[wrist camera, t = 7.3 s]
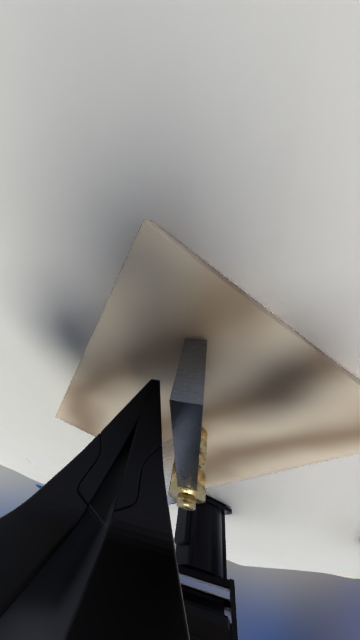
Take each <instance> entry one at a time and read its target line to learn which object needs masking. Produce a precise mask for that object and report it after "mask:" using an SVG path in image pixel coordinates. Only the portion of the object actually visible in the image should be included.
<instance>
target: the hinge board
mask: <svg viewBox="0 0 360 640" xmlns="http://www.w3.org/2000/svg"><path fill="white" fill-rule="evenodd" d="M185 338H190V339H202V340H207V354H206V369H205V385H204V401H203V415H202V427H203V428H204V429H206V431H207V433H208V437H207V455H206V456H205V472H204V473H205V474H206V488H210V487H215V486H219V485H223V484H228V483H232V482H237V481H241V480H245V479H250V478H254V477H258V476H263V475H267V474H271V473H276V472H280V471H285V470H289V469H293V468H298V467H302V466H306V465H311V464H315V463H319V462H324V461H328V460H333V459H337V458H341V457H346V456H350V455H354V454H359V453H360V381H359V380H358V379H356V378H355V377H354V376H352V375H351V374H350V373H349V372H347V371H346V370H345V369H343V368H342V367H341V366H339V365H338V364H337V363H336V362H334V361H333V360H332V359H330V358H329V357H328V356H326V355H325V354H324V353H323V352H321V351H320V350H319V349H317V348H316V347H315V346H313V345H312V344H311V343H310V342H308V341H307V340H306V339H304V338H303V337H302V336H300V335H299V334H298V333H297V332H295V331H294V330H293V329H291V328H290V327H289V326H287V325H286V324H285V323H284V322H282V321H281V320H280V319H278V318H277V317H276V316H274V315H273V314H272V313H271V312H269V311H268V310H267V309H265V308H264V307H263V306H261V305H260V304H259V303H258V302H256V301H255V300H254V299H252V298H251V297H250V296H249V295H247V294H246V293H245V292H243V291H242V290H241V289H239V288H238V287H237V286H236V285H234V284H233V283H232V282H230V281H229V280H228V279H226V278H225V277H224V276H223V275H221V274H220V273H219V272H217V271H216V270H215V269H213V268H212V267H211V266H210V265H208V264H207V263H206V262H204V261H203V260H202V259H200V258H199V257H198V256H197V255H195V254H194V253H193V252H191V251H190V250H189V249H187V248H186V247H185V246H184V245H182V244H181V243H180V242H178V241H177V240H176V239H174V238H173V237H172V236H171V235H169V234H168V233H167V232H165V231H164V230H163V229H161V228H160V227H159V226H158V225H156V224H155V223H154V222H152V221H143V223H142V225H141V227H140V229H139V232H138V234H137V236H136V238H135V240H134V243H133V245H132V247H131V249H130V252H129V254H128V256H127V258H126V261H125V263H124V265H123V267H122V269H121V272H120V274H119V276H118V278H117V281H116V283H115V285H114V287H113V289H112V292H111V294H110V296H109V298H108V301H107V303H106V305H105V307H104V310H103V312H102V314H101V316H100V318H99V321H98V323H97V325H96V327H95V330H94V332H93V334H92V336H91V338H90V341H89V343H88V345H87V347H86V350H85V352H84V354H83V356H82V359H81V361H80V363H79V365H78V367H77V370H76V372H75V374H74V376H73V379H72V381H71V383H70V385H69V387H68V390H67V392H66V394H65V396H64V399H63V401H62V403H61V405H60V408H59V410H58V412H57V414H56V416H55V417H56V418H58V419H60V420H63V421H65V422H67V423H69V424H71V425H73V426H75V427H77V428H79V429H81V430H83V431H85V432H87V433H89V434H91V435H93V436H95V437H96V436H97V435H98V434H99V433H100V434H101V431H102V430H103V429H104V428H105V427H106V426H107V425H108V424H109V423H110V422H111V421H112V420H113V419H114V417H115V416H116V415H117V414H118V413H119V412H120V411H121V410H122V409H123V408H124V407H125V406H126V405H127V404H128V403H129V402H130V401H131V400H132V399H133V398H134V396H135V395H136V394H137V393H138V392H139V391H140V390H141V389H142V388H143V387H144V386H145V385H146V384H147V383H148V382H149V381H150V380H151V379H155V380H160V394H161V423H162V443H163V442H165V441H167V440H169V439H170V438H172V437H173V434H172V423H171V413H170V402H169V399H170V395H171V391H172V387H173V383H174V379H175V376H176V372H177V368H178V364H179V360H180V356H181V352H182V348H183V344H184V340H185Z"/></svg>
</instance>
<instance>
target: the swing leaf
mask: <svg viewBox="0 0 360 640" xmlns="http://www.w3.org/2000/svg"><path fill="white" fill-rule="evenodd" d="M206 354H207V340H202V339H190V338H185V340H184V344H183V348H182V352H181V356H180V360H179V364H178V368H177V372H176V376H175V379H174V383H173V387H172V391H171V395H170V399H169V402H170V413H171V423H172V434H173V444H174V455H175V466H176V476H177V486H179V487H183V488H187V489H191V490H195V491H197V481H198V469H199V470H201V471H202V472H205V455H204V454H203V453H202V452H200V441H201V428H202V415H203V401H204V385H205V369H206Z"/></svg>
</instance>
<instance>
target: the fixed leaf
mask: <svg viewBox="0 0 360 640" xmlns="http://www.w3.org/2000/svg"><path fill="white" fill-rule="evenodd" d="M207 437H208V433H207V431H206V429H204V428H203V427H202V428H201V441H200V452H202V453H203V454H204V455H205V456H206V455H207ZM162 450H163V468H164V477H165V486H166V493H167V500H168V505H169V504H175V503H177V506H178V507H179V508H181V509H184V510H188V511H195V508H196V503H204V502H205V497H206V474H205V473H204V472H202V471H201V470H199V469H198V481H197V491H195V490H191V489H187V488H183V487H179V486H177V476H176V466H175V455H174V444H173V437H172V438H170V439H169V440H167V441H165V442H163V443H162Z"/></svg>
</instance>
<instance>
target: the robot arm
mask: <svg viewBox="0 0 360 640" xmlns="http://www.w3.org/2000/svg"><path fill="white" fill-rule="evenodd" d="M227 514H232V510H231V509H230V508H228V507H226V506H224V505H222V504H220V503H218V502H216V501H214V500H212V499H209V498H207V497H205V502H204V503H196V508H195V511H188V510H184V509H181V508H178V516H177V524H176V532H175V543H176V553H175V548H174V540H173V534H172V527H171V520H170V513H169V506H168V500H167V493H166V486H165V477H164V468H163V450H162V423H161V394H160V380H155V379H151V380H150V381H149V382H148V383H147V384H146V385H145V386H144V387H143V388H142V389H141V390H140V391H139V392H138V393H137V394H136V395H135V396H134V398H133V399H132V400H131V401H130V402H129V403H128V404H127V405H126V406H125V407H124V408H123V409H122V410H121V411H120V412H119V413H118V414H117V415H116V416H115V417H114V419H113V420H112V421H111V422H110V423H109V424H108V425H107V426H106V427H105V428H104V429H103V430H102V431H101V434H100V433H99V434H98V435H97V436H96V437H95V438H94V439H93V441H92V442H91V443H90V444H89V445H88V446H87V447H86V448H85V449H84V450H83V451H82V452H80V453H79V454H78V455H77V456H76V457H75V458H74V459H73V460H72V461H71V462H70V463H69V464H67V465H66V466H65V467H64V468H63V469H62V470H61V471H60V472H59V473H57V474H56V475H55V476H54V477H53V478H52V479H51V480H50V481H48V482H47V483H46V484H45V485H44V486H43V487H42V488H41V489H40V490H38V491H37V492H36V493H35V494H34V495H33V496H32V497H30V498H29V499H28V500H27V501H26V502H24V503H23V504H21V505H20V506H19V507H17V508H16V509H14V510H13V511H11V512H9V513H8V514H6V515H4V516H3V517H1V518H0V640H238V636H237V620H236V604H235V587H234V580H233V579H230V580H228V579H227V569H226V539H225V515H227ZM179 576H182V577H185V578H188V579H191V580H194V581H197V582H200V583H203V584H206V585H210V586H213V587H216V588H219V589H222V590H225V591H228V592H230V599H227V598H224V597H221V596H218V595H215V594H212V593H209V592H206V591H203V590H200V589H197V588H194V587H191V586H188V585H185V584H182V583H180V577H179ZM225 614H226V615H229V616H231V623H230V621H229V618H228V616H225Z"/></svg>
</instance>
